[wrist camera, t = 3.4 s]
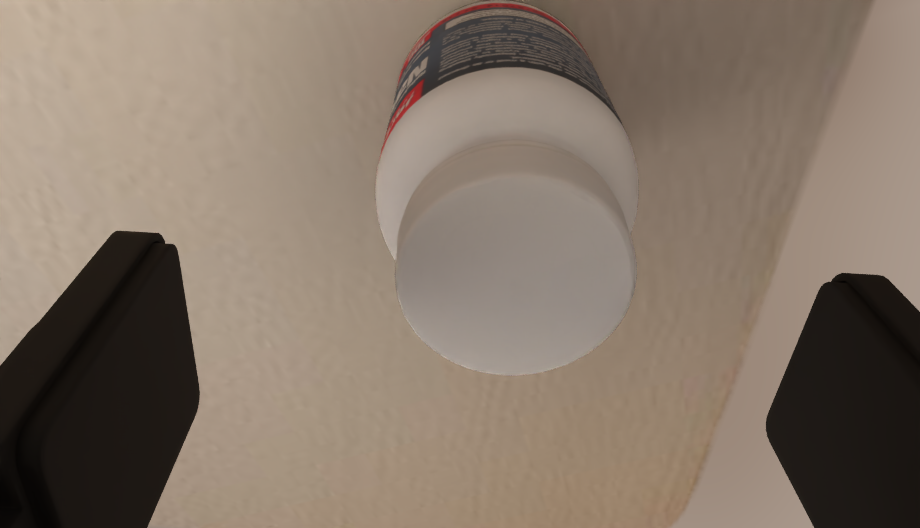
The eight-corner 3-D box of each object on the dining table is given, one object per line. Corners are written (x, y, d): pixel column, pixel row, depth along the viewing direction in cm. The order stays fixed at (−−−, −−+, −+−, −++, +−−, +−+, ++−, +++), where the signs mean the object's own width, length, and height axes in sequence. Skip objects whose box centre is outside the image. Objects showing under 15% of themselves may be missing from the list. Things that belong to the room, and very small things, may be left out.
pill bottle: (397, -9, 18) (349, 118, 10) (607, 2, 18) (715, 136, 10) (397, 184, 20) (358, 398, 13) (577, 192, 20) (644, 409, 13)
